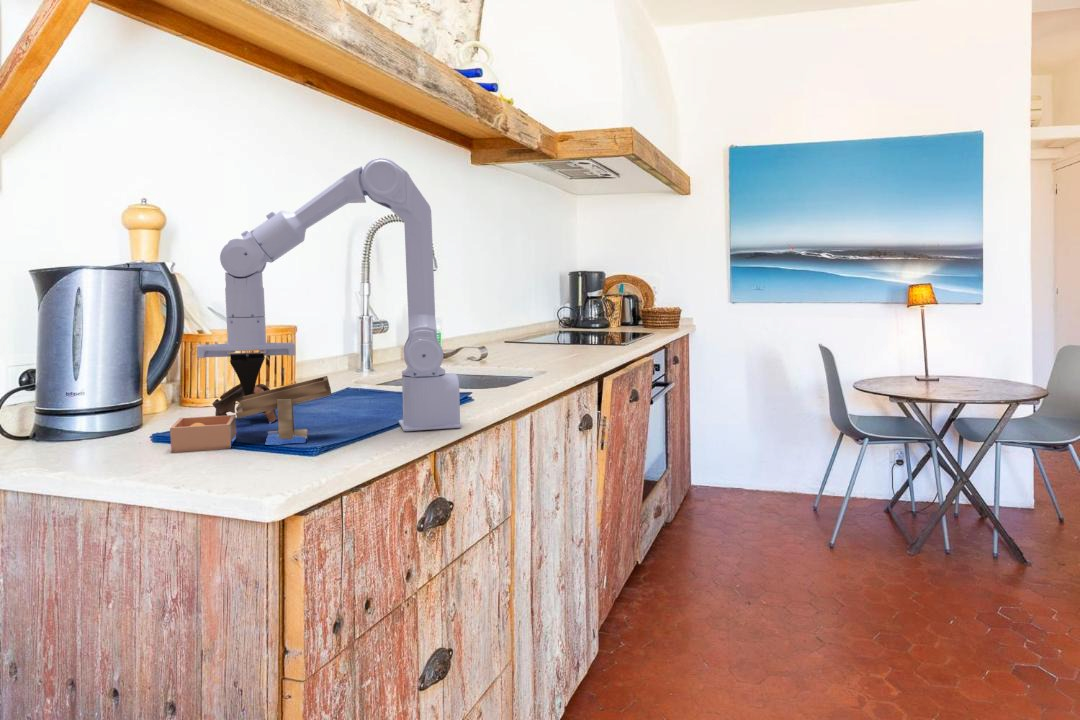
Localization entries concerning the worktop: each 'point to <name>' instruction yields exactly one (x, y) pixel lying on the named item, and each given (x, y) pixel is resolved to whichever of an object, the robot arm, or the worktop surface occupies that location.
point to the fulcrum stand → (287, 421)
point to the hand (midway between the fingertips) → (249, 401)
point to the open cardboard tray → (203, 433)
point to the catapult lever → (283, 396)
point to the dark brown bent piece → (237, 395)
